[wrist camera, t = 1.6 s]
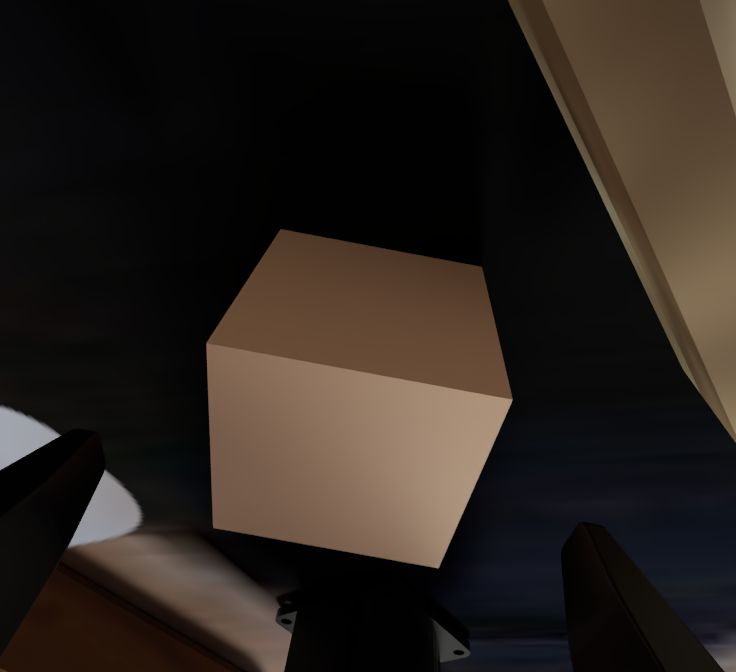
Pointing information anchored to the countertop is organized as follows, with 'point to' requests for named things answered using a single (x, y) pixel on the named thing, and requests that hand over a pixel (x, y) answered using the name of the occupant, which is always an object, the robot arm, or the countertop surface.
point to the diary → (98, 635)
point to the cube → (353, 398)
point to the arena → (658, 155)
